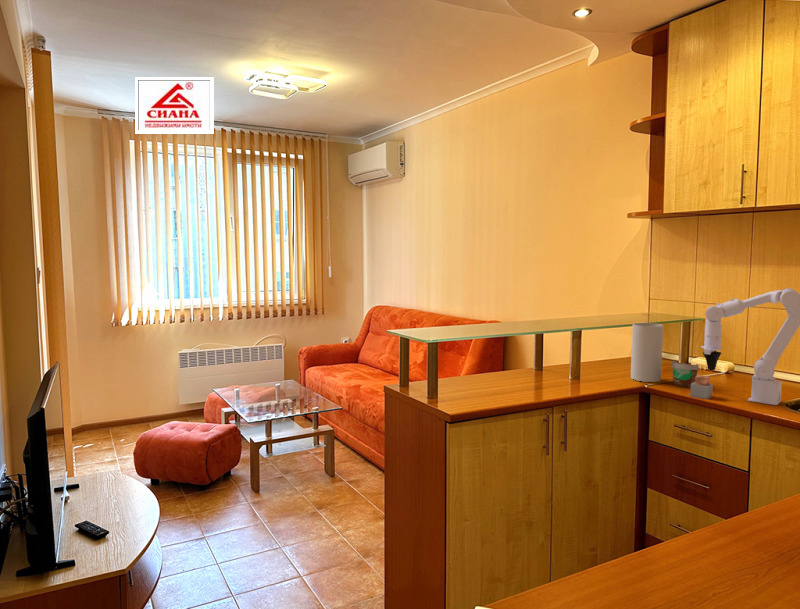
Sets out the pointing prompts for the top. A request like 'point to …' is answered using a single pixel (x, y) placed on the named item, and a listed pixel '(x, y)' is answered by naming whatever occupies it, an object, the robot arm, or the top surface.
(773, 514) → the top surface
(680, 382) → the food container
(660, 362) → the cylinder vase
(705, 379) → the terracotta cube
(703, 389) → the socket base
